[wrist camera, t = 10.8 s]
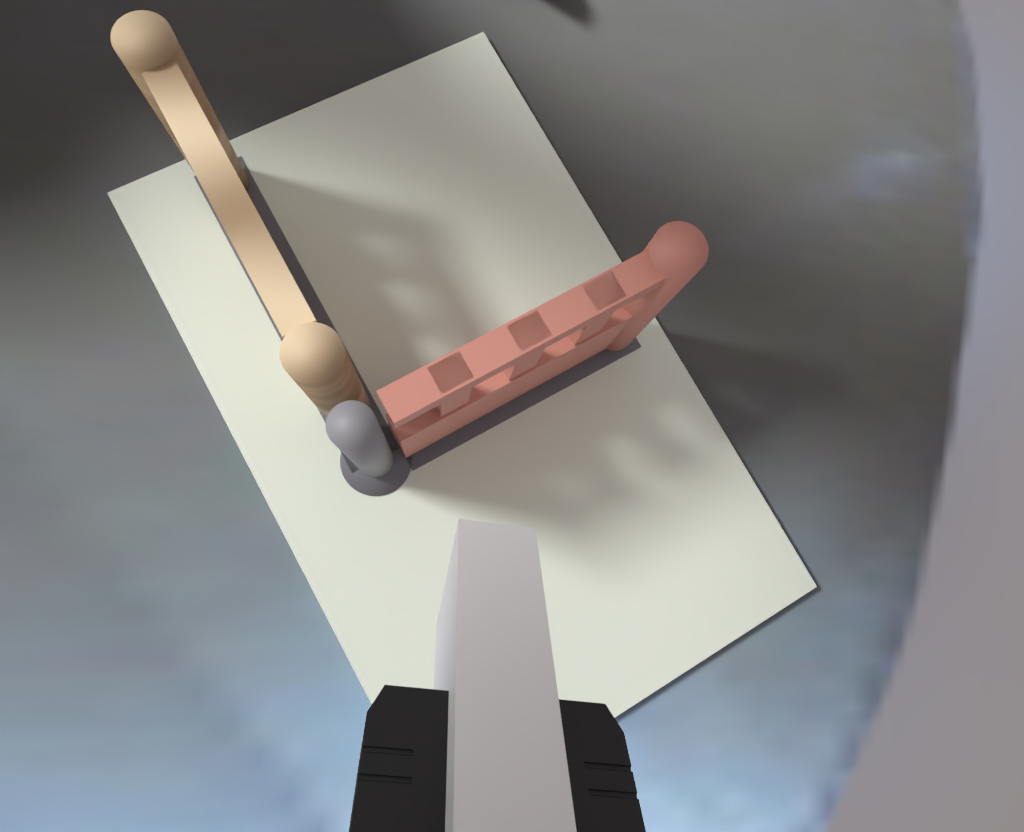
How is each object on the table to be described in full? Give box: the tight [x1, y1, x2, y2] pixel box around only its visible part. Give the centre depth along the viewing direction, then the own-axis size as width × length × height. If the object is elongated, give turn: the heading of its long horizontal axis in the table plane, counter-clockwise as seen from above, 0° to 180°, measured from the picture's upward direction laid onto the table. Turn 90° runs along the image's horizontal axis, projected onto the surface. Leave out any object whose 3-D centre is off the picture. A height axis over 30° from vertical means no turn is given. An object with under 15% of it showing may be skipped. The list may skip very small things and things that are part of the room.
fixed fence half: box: [110, 10, 372, 418], centre depth 28 cm, size 14×2×10 cm, turn 29°
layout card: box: [107, 32, 817, 718], centre depth 33 cm, size 32×20×1 cm, turn 29°
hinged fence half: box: [326, 221, 709, 477], centre depth 28 cm, size 14×2×10 cm, turn 120°
